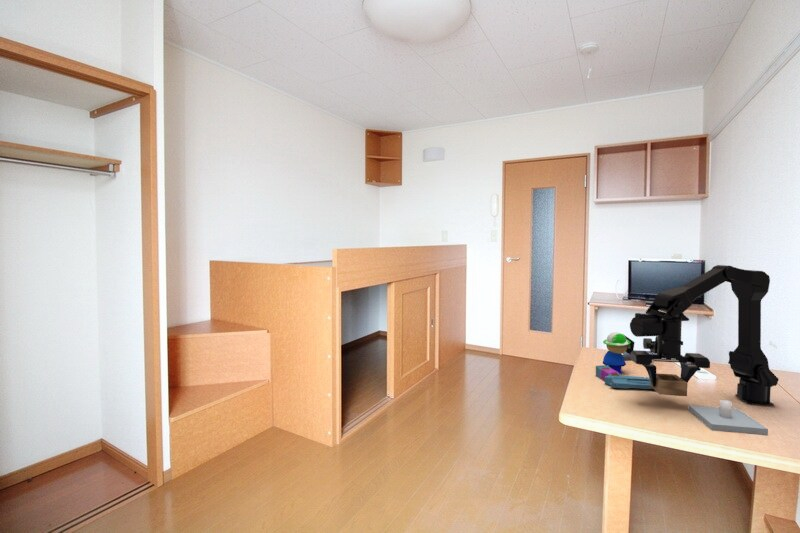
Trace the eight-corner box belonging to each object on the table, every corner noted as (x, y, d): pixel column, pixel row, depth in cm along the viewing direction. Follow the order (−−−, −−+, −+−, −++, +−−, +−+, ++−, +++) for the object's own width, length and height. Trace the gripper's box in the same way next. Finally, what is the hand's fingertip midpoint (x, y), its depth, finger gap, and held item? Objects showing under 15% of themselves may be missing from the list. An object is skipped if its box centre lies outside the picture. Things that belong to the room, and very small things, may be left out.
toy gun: (653, 378, 135) (676, 396, 120) (594, 375, 139) (609, 392, 124) (654, 366, 135) (676, 383, 120) (594, 364, 138) (609, 380, 124)
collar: (675, 387, 115) (675, 374, 115) (687, 396, 108) (687, 382, 108) (649, 385, 117) (649, 373, 116) (659, 394, 110) (659, 381, 110)
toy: (635, 376, 137) (636, 335, 136) (610, 376, 137) (610, 335, 136) (621, 368, 146) (622, 329, 145) (597, 368, 146) (598, 329, 145)
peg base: (737, 413, 106) (738, 394, 106) (767, 434, 94) (768, 413, 94) (688, 409, 109) (688, 391, 108) (711, 429, 97) (712, 409, 97)
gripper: (691, 330, 117) (690, 380, 118) (624, 328, 121) (623, 375, 122) (711, 339, 106) (710, 393, 107) (637, 336, 111) (636, 388, 112)
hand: (667, 387), depth 112 cm, fingers closed on collar, 7 cm apart
